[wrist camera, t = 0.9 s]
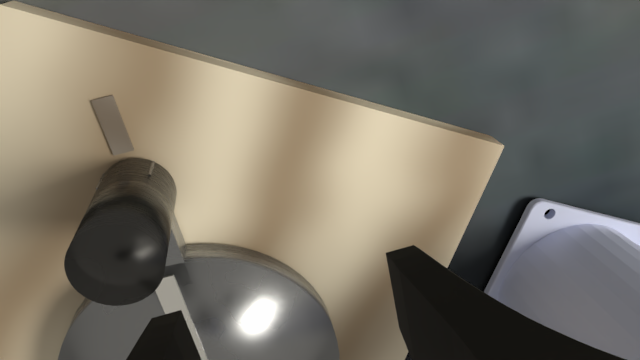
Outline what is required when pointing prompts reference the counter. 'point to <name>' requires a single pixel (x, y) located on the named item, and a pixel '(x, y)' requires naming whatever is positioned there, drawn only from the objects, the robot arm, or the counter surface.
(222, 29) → the counter surface
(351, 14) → the counter surface
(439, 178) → the board
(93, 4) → the counter surface
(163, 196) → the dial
